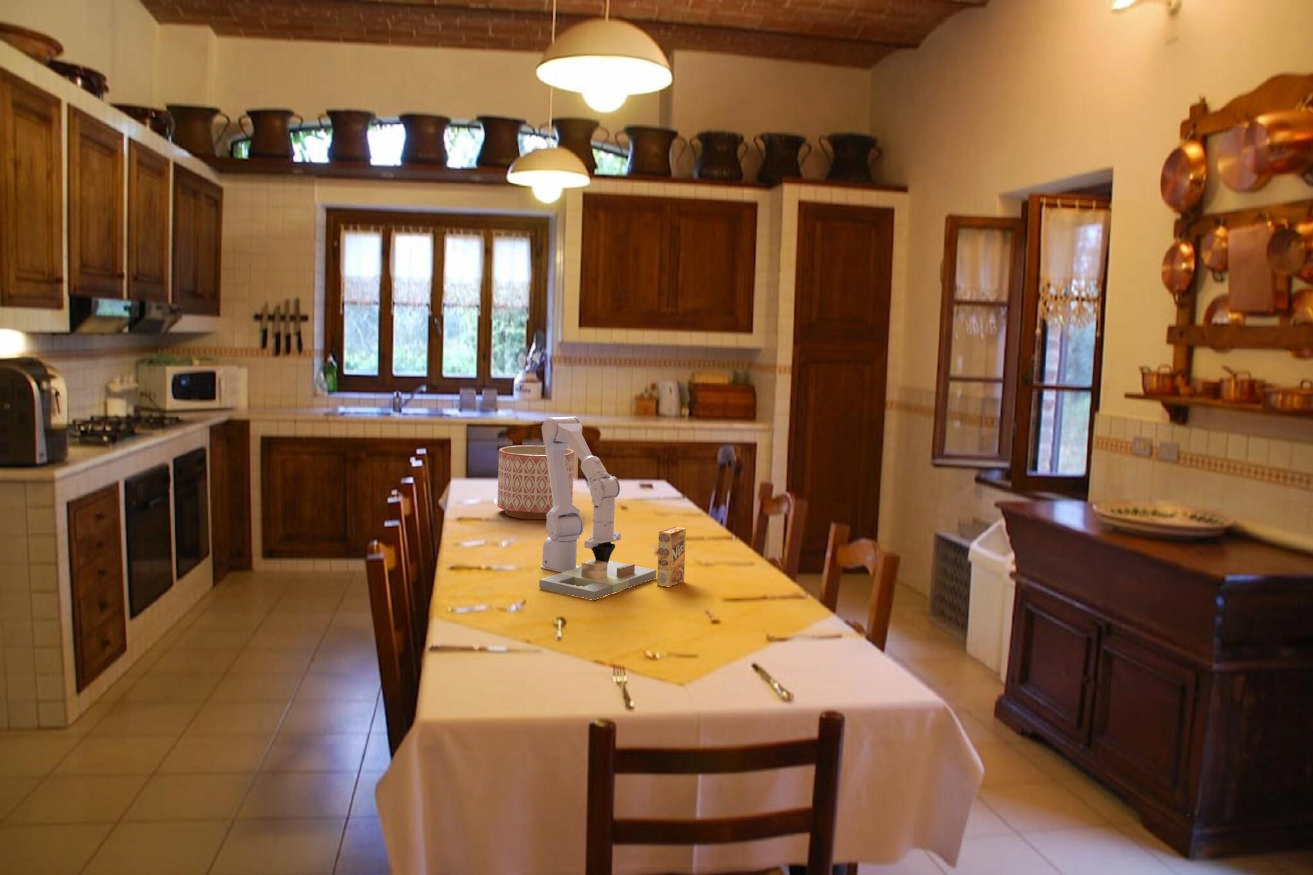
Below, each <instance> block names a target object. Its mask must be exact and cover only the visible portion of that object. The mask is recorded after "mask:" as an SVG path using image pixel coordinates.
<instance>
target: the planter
mask: <svg viewBox="0 0 1313 875" xmlns="http://www.w3.org/2000/svg"><path fill="white" fill-rule="evenodd" d="M564 452H565V459H566V466H567V473H568V480H569V488H570V495H571V502H572V503H573V497H574V496H573V495H574V490H573V489H574V464H575V459H574V458H575V452H574V450H573V449H572V448H568V447H566V449H565V451H564ZM497 472H498V475H497V481H498V482H497V507H498V508H499V509H501V510H504V513H505V515H506V516H508V515H509V517H511V518H516V519H522V520H523V519H524V520H547V517H546V514H547V513H548V512H549V511H550V510H551V509H552V508H553V507H554V506H553V499H552V492H551V485H550V477H549V470H548V463H547V456H546V448H545V446H544V445H530V444H529V445H511V446H505V447H500V448H499V449H498V470H497ZM562 516H564V515H559V516H558V517H562Z"/></svg>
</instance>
